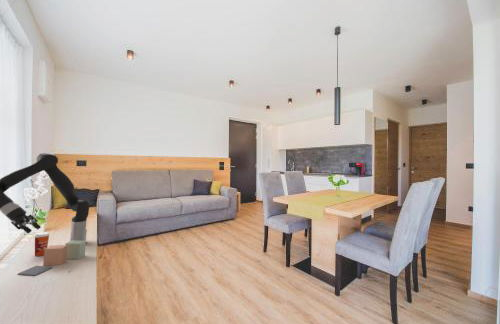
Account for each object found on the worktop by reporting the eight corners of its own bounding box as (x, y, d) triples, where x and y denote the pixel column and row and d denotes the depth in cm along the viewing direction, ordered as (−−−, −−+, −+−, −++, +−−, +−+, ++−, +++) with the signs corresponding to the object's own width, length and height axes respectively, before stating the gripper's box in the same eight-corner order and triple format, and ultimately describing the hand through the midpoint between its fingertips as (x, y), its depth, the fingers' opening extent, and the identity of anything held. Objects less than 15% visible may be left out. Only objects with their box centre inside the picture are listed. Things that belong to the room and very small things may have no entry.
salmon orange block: (43, 265, 133) (44, 249, 134) (49, 261, 139) (50, 245, 139) (61, 264, 136) (62, 248, 136) (66, 260, 142) (67, 244, 142)
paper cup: (38, 257, 144) (40, 235, 144) (29, 255, 145) (31, 234, 146) (51, 253, 152) (53, 232, 152) (42, 251, 153) (44, 231, 153)
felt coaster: (36, 266, 132) (36, 265, 132) (52, 267, 131) (52, 266, 131) (17, 274, 122) (17, 273, 122) (34, 276, 121) (34, 275, 121)
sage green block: (64, 259, 144) (65, 243, 144) (70, 255, 150) (71, 240, 150) (79, 259, 145) (80, 243, 145) (84, 255, 151) (85, 240, 151)
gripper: (10, 208, 126) (32, 228, 129) (27, 204, 140) (47, 222, 142) (-3, 218, 124) (20, 238, 127) (16, 213, 138) (36, 231, 141)
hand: (34, 230), depth 135 cm, fingers open, 8 cm apart
